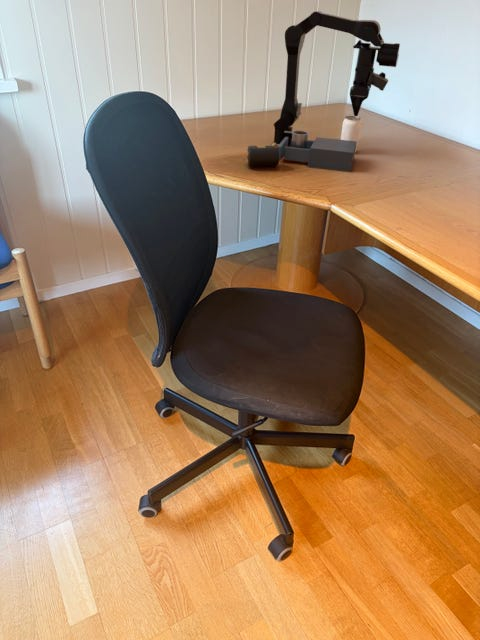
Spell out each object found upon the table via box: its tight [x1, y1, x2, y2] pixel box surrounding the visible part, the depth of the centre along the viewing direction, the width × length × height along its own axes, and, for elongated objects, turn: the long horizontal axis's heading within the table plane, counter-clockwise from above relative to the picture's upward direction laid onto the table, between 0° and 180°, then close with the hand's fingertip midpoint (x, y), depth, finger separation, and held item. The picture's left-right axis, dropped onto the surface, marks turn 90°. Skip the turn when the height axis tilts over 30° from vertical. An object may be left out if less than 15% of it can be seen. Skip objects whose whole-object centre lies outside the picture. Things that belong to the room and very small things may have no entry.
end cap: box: [246, 145, 280, 169], centre depth 165 cm, size 10×7×7 cm
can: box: [340, 115, 362, 153], centre depth 181 cm, size 6×6×12 cm
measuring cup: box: [284, 130, 309, 149], centre depth 172 cm, size 8×5×7 cm, turn 74°
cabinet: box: [307, 136, 357, 173], centre depth 171 cm, size 14×14×6 cm
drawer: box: [271, 137, 315, 163], centre depth 173 cm, size 17×13×5 cm
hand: (356, 113), depth 175 cm, fingers open, 9 cm apart
